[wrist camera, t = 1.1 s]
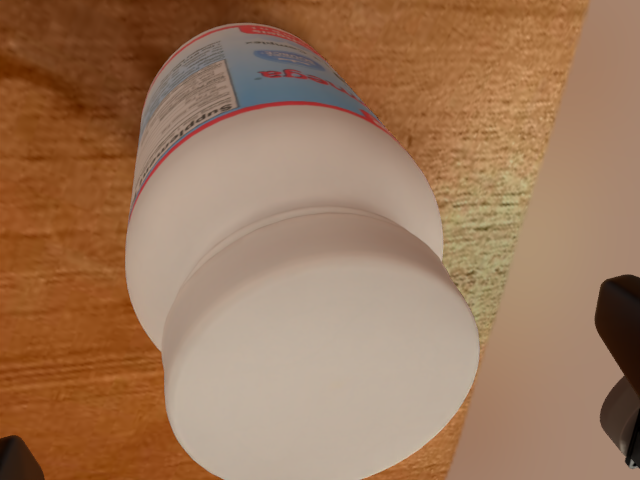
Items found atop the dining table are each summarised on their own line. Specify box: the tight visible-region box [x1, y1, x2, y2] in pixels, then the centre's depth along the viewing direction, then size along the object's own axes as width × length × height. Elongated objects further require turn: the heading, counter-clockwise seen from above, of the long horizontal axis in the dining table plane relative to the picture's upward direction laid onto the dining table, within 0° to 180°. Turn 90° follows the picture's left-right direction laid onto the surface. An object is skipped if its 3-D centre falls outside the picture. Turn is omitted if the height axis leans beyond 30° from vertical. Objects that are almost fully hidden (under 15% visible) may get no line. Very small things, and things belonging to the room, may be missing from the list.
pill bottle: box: [125, 23, 480, 480], centre depth 13 cm, size 6×6×11 cm
